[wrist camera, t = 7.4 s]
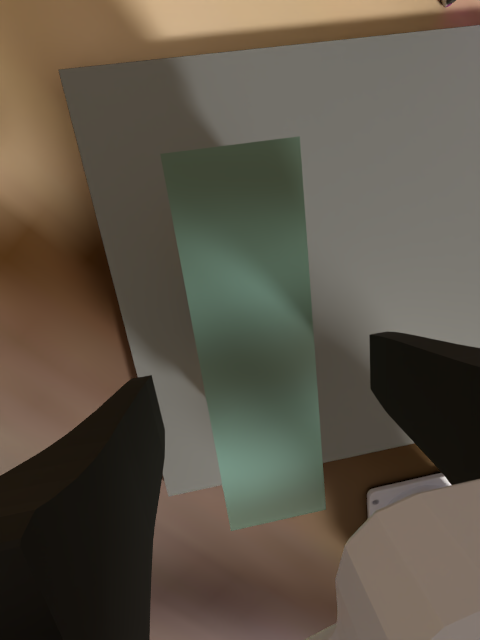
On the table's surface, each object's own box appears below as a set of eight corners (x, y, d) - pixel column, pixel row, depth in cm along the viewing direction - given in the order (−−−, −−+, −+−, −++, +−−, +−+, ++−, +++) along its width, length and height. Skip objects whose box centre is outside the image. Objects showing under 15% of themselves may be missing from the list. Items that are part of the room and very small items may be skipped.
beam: (297, 447, 18) (325, 509, 15) (222, 462, 18) (230, 530, 14) (269, 155, 14) (299, 136, 10) (168, 168, 14) (160, 153, 10)
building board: (516, 410, 26) (588, 455, 22) (169, 485, 24) (164, 553, 19) (569, 23, 19) (699, -40, 14) (65, 77, 16) (15, 24, 12)
